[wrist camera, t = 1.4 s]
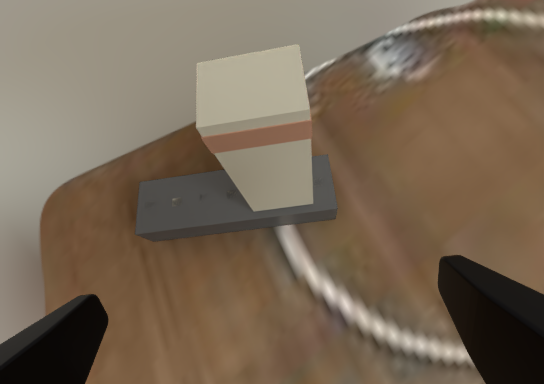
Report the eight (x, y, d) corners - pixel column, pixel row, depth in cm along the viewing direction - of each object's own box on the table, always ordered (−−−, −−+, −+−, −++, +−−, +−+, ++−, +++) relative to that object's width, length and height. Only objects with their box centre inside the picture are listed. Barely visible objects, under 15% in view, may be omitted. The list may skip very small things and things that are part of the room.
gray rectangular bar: (335, 218, 21) (337, 208, 19) (153, 241, 22) (134, 234, 20) (326, 169, 23) (327, 154, 20) (156, 193, 24) (139, 182, 22)
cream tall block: (314, 204, 19) (311, 110, 10) (253, 212, 19) (194, 129, 10) (307, 162, 20) (300, 42, 11) (250, 170, 21) (195, 62, 11)
